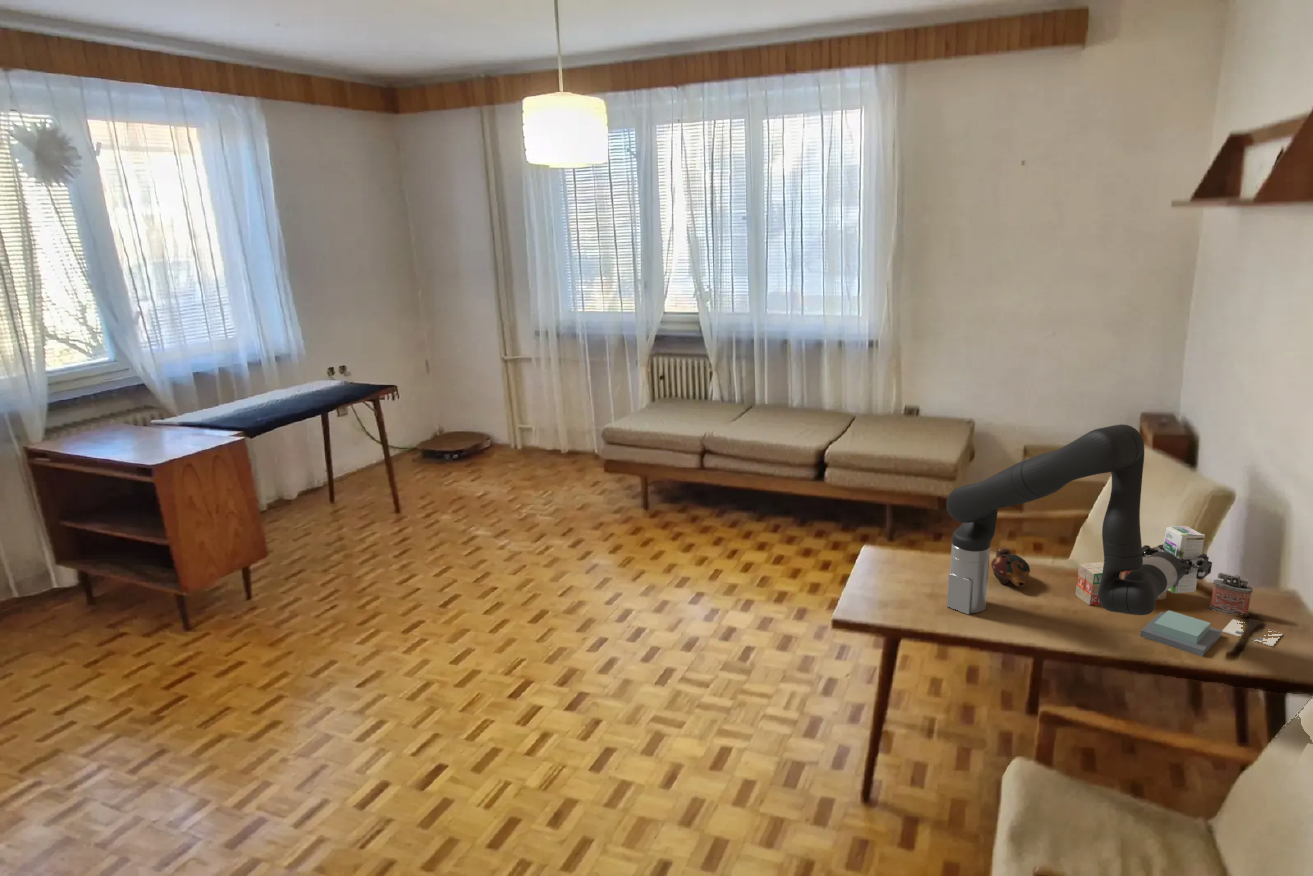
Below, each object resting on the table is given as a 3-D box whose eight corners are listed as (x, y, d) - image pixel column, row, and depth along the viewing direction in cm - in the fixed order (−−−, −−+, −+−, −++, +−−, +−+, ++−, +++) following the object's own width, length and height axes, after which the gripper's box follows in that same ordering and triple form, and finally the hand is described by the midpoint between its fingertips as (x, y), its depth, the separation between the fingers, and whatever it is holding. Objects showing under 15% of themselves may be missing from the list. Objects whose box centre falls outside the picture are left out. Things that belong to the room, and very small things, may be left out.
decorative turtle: (1011, 568, 232) (1016, 543, 229) (1039, 595, 217) (1044, 569, 215) (978, 569, 231) (983, 543, 228) (1004, 596, 217) (1009, 569, 214)
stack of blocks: (1089, 606, 209) (1094, 562, 205) (1074, 595, 215) (1079, 553, 211) (1166, 599, 211) (1172, 555, 207) (1149, 588, 217) (1155, 546, 213)
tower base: (1202, 656, 184) (1204, 642, 183) (1140, 635, 194) (1141, 622, 193) (1221, 636, 192) (1223, 623, 191) (1160, 617, 202) (1162, 604, 201)
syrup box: (1156, 583, 192) (1164, 526, 189) (1179, 581, 193) (1188, 525, 189) (1172, 594, 187) (1181, 535, 183) (1197, 592, 187) (1206, 534, 184)
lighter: (1249, 614, 201) (1255, 577, 199) (1246, 619, 199) (1253, 582, 196) (1210, 604, 207) (1216, 569, 204) (1208, 609, 204) (1213, 573, 202)
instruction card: (1272, 647, 186) (1272, 645, 186) (1222, 631, 194) (1222, 630, 194) (1282, 634, 191) (1282, 633, 191) (1232, 620, 199) (1232, 618, 199)
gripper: (1196, 567, 173) (1222, 546, 183) (1125, 548, 183) (1153, 529, 193) (1191, 599, 175) (1217, 576, 185) (1121, 578, 185) (1149, 558, 195)
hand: (1184, 552), depth 189 cm, fingers closed on syrup box, 7 cm apart
